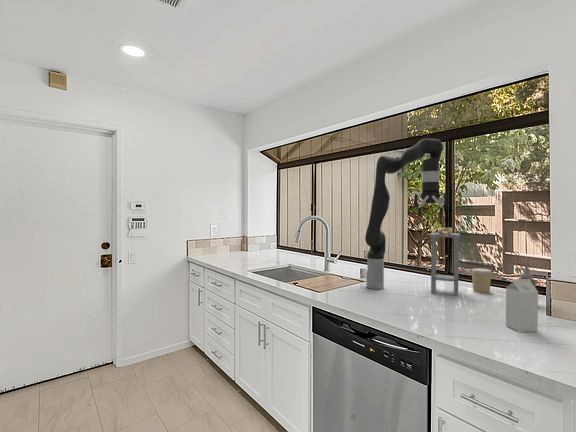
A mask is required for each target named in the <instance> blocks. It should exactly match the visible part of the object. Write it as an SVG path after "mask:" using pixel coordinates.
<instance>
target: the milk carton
mask: <svg viewBox="0 0 576 432" xmlns="http://www.w3.org/2000/svg"><path fill="white" fill-rule="evenodd" d="M535 287H536V286H535ZM535 287H534V286H533V284H532V283H531V279H519V278H517V279H512V282H511V283H510V284H509V285H507V286H506V289H505V326H507V327H509V328H511V329H513V330H514V331H517V332H519V333H528V332H538V330H539V329H538V326H539V323H538V322H539V291H538V290H537V287H536V288H535Z"/></svg>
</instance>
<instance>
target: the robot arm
mask: <svg viewBox="0 0 576 432" xmlns="http://www.w3.org/2000/svg"><path fill="white" fill-rule="evenodd" d="M443 147H444V145H443V142H442V141H441V140H440V139H439V138H427V137H426V138H423V139H420V140H419V141H418V142H417V143H416V144H414V145H412V146H411V147H409V148H407V149H406V150H404V151H403V153H402V155H401V156H398V157H393V156H387V155H380V156H379V158H378V159H377V162H376V168H375V180H374V181H375V183H374V188H373V194H372V200H371V208H370V215H369V220H368V225H367V228H366V233H365V236H364V238H365V239H364V240H365V243H366V244H367V246H369V250H368V252H367V261H366V263H367V267H366V268H367V270H366V273H365V274H366V280H365V281H366V282H365V283H366V285H365V286H366V287H365V288H367V289H371V290H383V289H385V270H384V269H385V265H384V264H385V255H386V235H385V233H384V232H383V231H382V229H381V228H382V223H383V220H384V218H385V216H386V215H387V213H388V209H389V207H390V206H389V204H390V200H391V199H390V198H391V197H390V192H389V190H388V188H387V184H386V174H390V175H391V174H392V175H394V174H395V173H397V172H399V171H400V170H401V169H403V168H404V167H406V166H408V165H409V164H411V163H413V162H416V161H418V160H420V159H422V158H424V157H425V156H426V154H427V155H429V157H428V158H426V159H424V160H423V161H422V164H421V165H422V168H421V169H422V174H421V194H417V193H415V194H414V202H413V206H414V207H415V208H417V211H418V212H417V214H418V216H419V217H422V216H423V215H422V213H423V212H422V210H423V209H422V207H424V205H425V203H426V204H430V203H431V204H435V203H436V204H437V205H438V206H439V217H442V216H443V215H444V208H445V207H448V195H447V193H440V171H439V168H440V166H439V165H440V160H441V156H442V153H443ZM420 198H421V199H422V201H421V202H420V204H418V202H419V201H418V200H419V199H420ZM440 198H442V199H443V203H444V204H442V203H441V202H440V200H439V199H440Z"/></svg>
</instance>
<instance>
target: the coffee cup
mask: <svg viewBox="0 0 576 432" xmlns="http://www.w3.org/2000/svg"><path fill="white" fill-rule="evenodd" d="M492 273H493V272H492V270H491V269H487V268H481V267H480V268H478V267H477V268H475V267H474V268H472V269H471V275H472V276H471V278H472V279H471V280H472V281H471V282H472V290H473V292H474V293H478V294H489V293H490V292H491V291H490V290H491V279H492Z"/></svg>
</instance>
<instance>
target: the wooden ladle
mask: <svg viewBox="0 0 576 432" xmlns="http://www.w3.org/2000/svg"><path fill="white" fill-rule="evenodd" d="M437 233H438V234H442V236H447V234H452V233H453V228H452V227H437Z"/></svg>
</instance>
